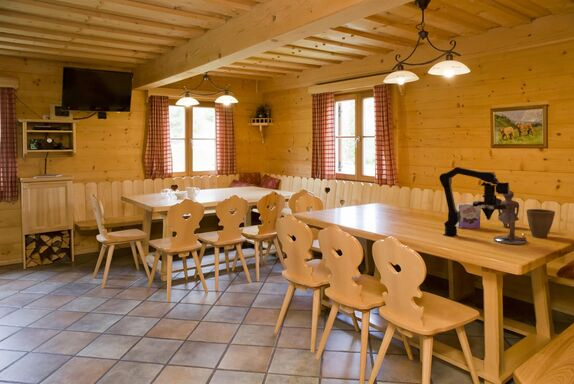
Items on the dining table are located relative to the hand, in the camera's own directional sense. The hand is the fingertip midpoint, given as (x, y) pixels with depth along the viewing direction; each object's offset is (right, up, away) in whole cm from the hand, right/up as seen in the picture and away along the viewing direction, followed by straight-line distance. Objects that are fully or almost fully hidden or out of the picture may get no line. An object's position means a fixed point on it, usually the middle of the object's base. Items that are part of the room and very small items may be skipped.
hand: (488, 219), depth 251 cm
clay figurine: (+30, -8, +35) cm, 47 cm away
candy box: (+4, -8, +37) cm, 38 cm away
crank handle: (+11, -11, -7) cm, 17 cm away
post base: (+10, -12, -5) cm, 17 cm away
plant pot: (+34, -11, +6) cm, 36 cm away
